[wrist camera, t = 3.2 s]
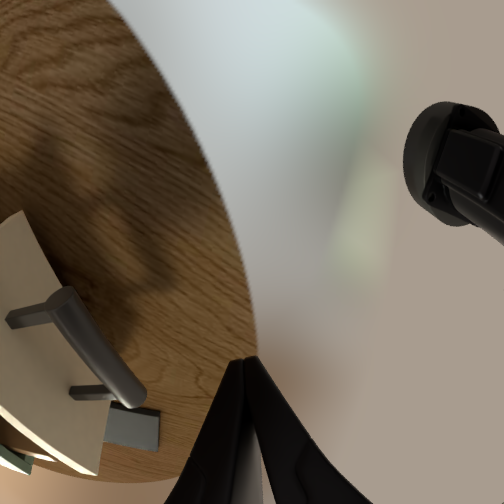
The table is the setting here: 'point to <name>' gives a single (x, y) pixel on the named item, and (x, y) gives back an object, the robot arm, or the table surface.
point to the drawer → (53, 360)
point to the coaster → (132, 427)
